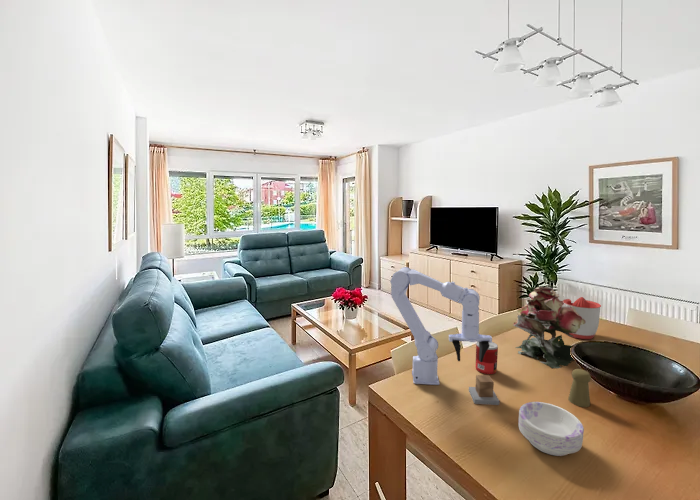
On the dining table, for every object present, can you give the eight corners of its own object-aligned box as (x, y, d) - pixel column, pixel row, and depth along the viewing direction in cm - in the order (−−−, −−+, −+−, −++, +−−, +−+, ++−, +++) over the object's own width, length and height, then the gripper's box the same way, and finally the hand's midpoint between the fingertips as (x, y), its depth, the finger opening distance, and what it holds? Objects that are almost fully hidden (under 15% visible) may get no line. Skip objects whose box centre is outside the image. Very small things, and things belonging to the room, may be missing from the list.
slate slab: (474, 405, 110) (474, 399, 110) (468, 391, 118) (468, 386, 118) (499, 406, 109) (499, 400, 109) (491, 393, 117) (492, 387, 117)
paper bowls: (583, 473, 81) (586, 444, 80) (515, 450, 89) (516, 423, 88) (579, 436, 94) (582, 411, 92) (520, 419, 101) (521, 395, 100)
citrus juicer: (587, 329, 173) (590, 292, 171) (604, 342, 157) (608, 302, 154) (554, 327, 177) (557, 291, 174) (568, 340, 160) (571, 300, 158)
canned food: (498, 375, 128) (500, 348, 126) (477, 373, 129) (478, 347, 128) (494, 366, 135) (495, 340, 134) (473, 364, 137) (474, 339, 135)
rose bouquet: (589, 352, 146) (594, 287, 143) (559, 371, 130) (564, 298, 126) (530, 335, 167) (533, 277, 164) (498, 349, 151) (501, 286, 147)
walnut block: (479, 396, 111) (479, 381, 111) (475, 389, 116) (476, 374, 115) (492, 397, 111) (493, 382, 110) (488, 390, 115) (489, 375, 115)
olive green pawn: (586, 398, 112) (589, 368, 111) (593, 408, 106) (595, 376, 105) (566, 395, 114) (568, 365, 112) (571, 405, 108) (573, 373, 107)
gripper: (451, 327, 114) (450, 364, 115) (495, 328, 112) (494, 366, 113) (447, 320, 121) (447, 356, 122) (489, 321, 119) (488, 357, 120)
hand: (469, 360), depth 118 cm, fingers open, 7 cm apart
